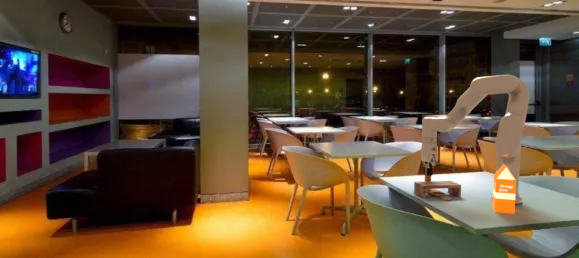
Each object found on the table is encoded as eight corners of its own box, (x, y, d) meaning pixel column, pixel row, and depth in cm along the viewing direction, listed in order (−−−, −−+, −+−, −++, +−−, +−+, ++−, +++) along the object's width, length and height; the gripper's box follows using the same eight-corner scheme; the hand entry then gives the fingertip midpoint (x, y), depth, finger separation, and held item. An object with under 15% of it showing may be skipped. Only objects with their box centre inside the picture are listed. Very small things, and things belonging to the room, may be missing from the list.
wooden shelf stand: (460, 196, 203) (461, 184, 202) (423, 198, 200) (423, 186, 199) (450, 192, 213) (450, 180, 212) (414, 193, 210) (414, 181, 209)
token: (453, 201, 195) (453, 198, 195) (443, 201, 195) (443, 198, 195) (448, 198, 200) (448, 195, 200) (438, 198, 200) (438, 195, 200)
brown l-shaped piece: (445, 196, 203) (446, 168, 202) (436, 196, 202) (437, 168, 201) (430, 189, 218) (431, 163, 216) (422, 189, 217) (422, 163, 216)
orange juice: (511, 208, 182) (513, 164, 180) (514, 213, 173) (517, 167, 172) (491, 206, 184) (493, 163, 183) (494, 211, 176) (496, 166, 175)
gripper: (443, 142, 207) (442, 177, 208) (428, 138, 222) (427, 172, 224) (430, 142, 206) (428, 178, 207) (415, 139, 221) (414, 172, 223)
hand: (428, 174), depth 215 cm, fingers closed on brown l-shaped piece
